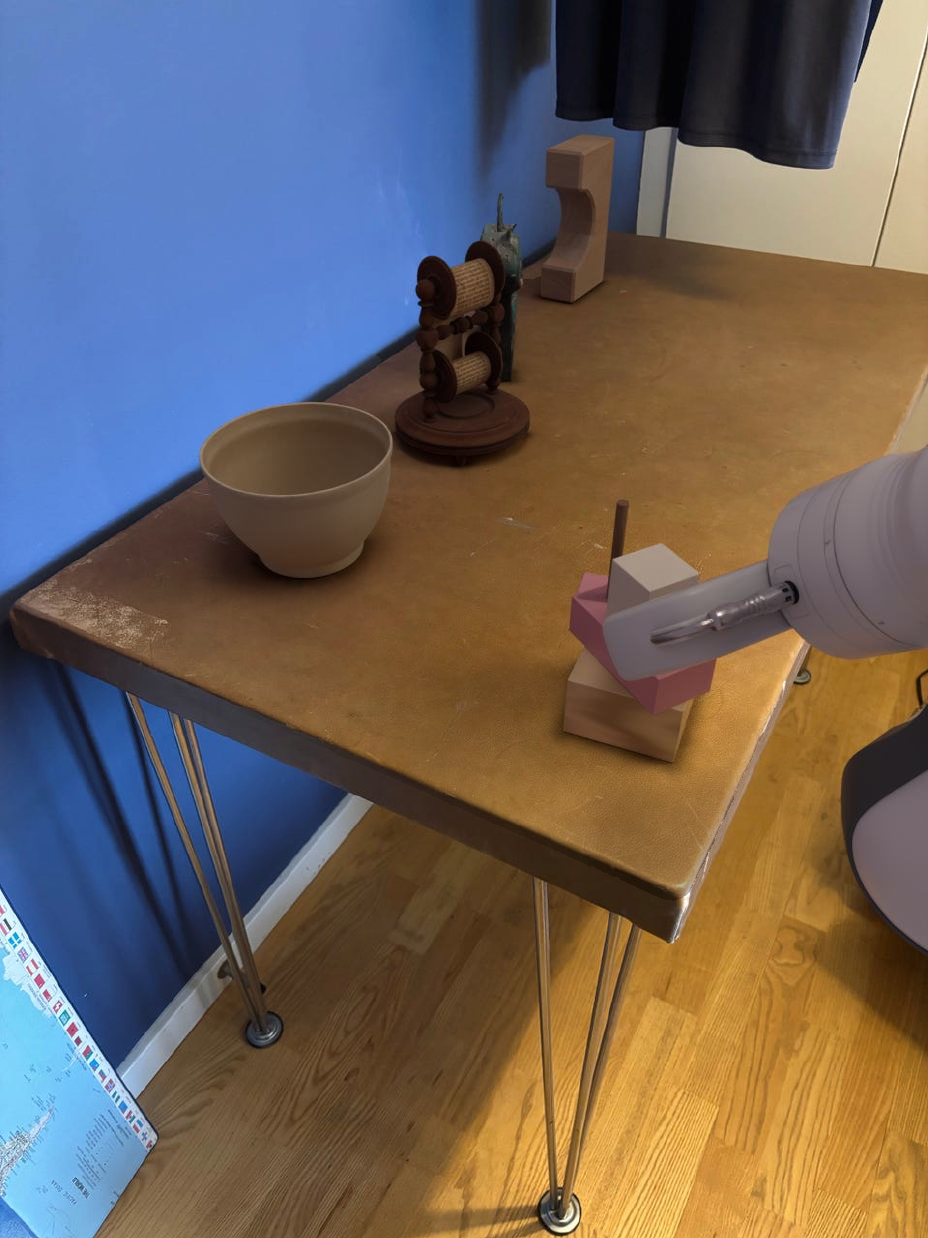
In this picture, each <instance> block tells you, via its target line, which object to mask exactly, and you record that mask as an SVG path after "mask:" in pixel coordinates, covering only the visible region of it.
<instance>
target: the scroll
mask: <svg viewBox="0 0 928 1238" xmlns="http://www.w3.org/2000/svg"><path fill="white" fill-rule="evenodd" d="M479 240H480V239H479ZM479 240H476V241H473V242H474V243H473V242H472V243H471V244H470V245H469V246H468V248H467V250H466V253H465V257H464V263H460V264H456V265H454V266H450V265H449V264H448V263H447V262H446V261H445V260H444V259H443V258H441V257H439V256H438V255H428V256H425V257H424V258H422V260H421V261H420V263H419V265H418V267H417V272H416V285H415V287H414V291H415V295H416V297H417V298H418V299H419V301H417V306H418V307H420V310H419V311H420V312H419V316H418V324H419V326H420V327H419V328H418V329H417V331H416V333H415V342H416V345H417V346H418V347H419V351H420V352H421V357H420V360H419V364H418V365H419V368H418V369H419V378H418V382H419V385H420V387H421V388H422V389H423V390H421V391H419V392H417V393H415V394H413V395H411V396H409V397H408V398H406V399H404V400H403V402H401V403H400V404H399V406H398V407H397V408H396V410H395V413H394V427H395V431H396V433H397V435H398V436H399V438H400V439H402V440H403V441H404V442H405V443H407V444H408V445H410V446H411V447H414V448H416V449H418V450H422V451H425V452H429V453H434V454H439V455H443V456H444V455H445V456H455V457H456V461H457V463H458V465H460V466H464V465H465V463H466V461H467V458H468V456H475V455H484V454H490V453H494V452H497V451H501V450H503V449H507V448H508V447H512V446H513V445H515V444H517V443H518V442H519V441H521V440H522V439H523V438H524V437H525V436H526V435H527V433H528V432H529V429H530V427H531V425H530V424H531V421H530V420H531V414H530V413H531V412H530V410H529V408H528V406H527V404H525V402H524V401H523V400H521V399H520V398H519V397H517V396H515V395H514V394H512V393H509V392H507V391H505V390H503V389H500V388H499V387H500V385H501V383H502V381H501V380H500V376H501V373H502V368H503V361H502V351H501V349H500V348H499V347H498V344H499V342H500V334H499V331H498V326H500V324H501V323H500V322H501V321H502V319H503V317H504V313H505V312H504V308H503V306H502V305H501V304H500V303H498V302H499V301H500V299H501V291H502V289H503V287H504V283H505V267H504V263H503V260H502V258H501V256H500V254H499V252H498V251H497V249H496V248H495V247H494V246H493V245H492V244H490V243H489V242H487V241H482V240H480V241H479ZM481 307H484V309H483V311H478V312H476V313H475V312H474V313H473V314H472V315H471V316H470V315H465V314H467V313H470V312H473V311H474V310H476V309H479V308H481ZM486 322H487V323H486ZM485 323H486V324H487V326H489V330H488V334H487V333H484V332H481V331H479V330H477V331H474V332H471V333H470V334H469V335H468V337H467V338H466V340H465V343H464V348H463V340H464V339H463V338H464V334H466V333H467V332H468V331H471V330H472V329H473V328H474V326H477V327H478V326H481V325H484V324H485ZM463 349H464V355H463Z"/></svg>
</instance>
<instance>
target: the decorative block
mask: <svg viewBox="0 0 928 1238" xmlns="http://www.w3.org/2000/svg"><path fill="white" fill-rule="evenodd" d="M615 144H616V140H615V138H614V137H613V136H604V135H603V136H602V135H595V134H594V135H592V134H586V133H585V134H584V133H580V134H579V135H577V136H574V137H572V138H569V139H567V140H565V141H563V142H560V143H558V144H556V145H553V146H551V147H549V148H548V149H547V150H546V154H545V155H546V156H545V178H544V185H545V187H546V188H548V189H554V190H555V191H556V193H557V195H558V200H559V202H560V221H559V229H558V233H557V236H556V240H555V244H554V246H553V248H552V250H551V252H550V255H549V257H548V259H546V261H545V262H544V263H543V264H542V265H541V268H540V269H541V270H540V291H539V293H540V295H539V296H541V298H542V299H547V300H552V301H558V302H563V303H568V304H573V303H574V302H576V301H577V300H579V299H580V298H581V297H583V296H584V295H585V294H587V293H588V292H589V291H591V290H592V289H594V288H595V287H596V286H598V285H599V284H601V283H602V282H603V281H604V273H605V263H606V261H605V260H606V252H607V251H606V249H607V238H608V228H609V227H608V226H609V214H610V204H611V192H612V182H613V181H612V180H613V170H614V169H613V168H614V155H615Z"/></svg>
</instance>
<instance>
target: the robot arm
mask: <svg viewBox="0 0 928 1238" xmlns="http://www.w3.org/2000/svg"><path fill="white" fill-rule="evenodd" d="M791 630H794V631H795V633H796V634H798V635H799V636H800V638H801V639H802V640H804V641H805V642H806V643H807V644H808V645H810V646H811V647H813V648H814V649H815V650H818V651H819V652H821V653H824V654H825V655H828V656H831V657H834V658H836V659H842V660H850V661H857V660H866V659H872V658H876V657H877V658H878V657H884V656H889V655H890V656H891V655H895V654H902V653H907V652H913V651H919V650H927V649H928V443H927V444H926V445H925V446H924V447H921V448H920V449H919V450H910V451H909V450H908V451H900V452H898V451H897V452H894V453H893V452H892V453H889V454H886V455H883V456H880V457H878V458H875V459H872V460H870V461H868V462H866V463H864V464H861V465H860V466H857V467H855V468H853V469H851V470H847V471H846V472H843V473H841V474H839V475H836V476H834V477H832V478H829V479H827V480H825V481H823V482H820V483H818V484H816V485H813V486H812V487H809V488H806V489H805V490H802V491H800V492H799V493H798V494H797V495H795V496H794V497H792V499H790V500H789V501H788V502H787V504H785V506H784V507H783V508H782V510H781V511H780V512H779V514H778V516H777V518H776V520H775V521H774V524H773V526H772V529H771V533H770V537H769V541H768V550H767V558H764V559H762V560H759V561H756V562H753V563H751V564H748V565H745V566H742V567H740V568H737V569H736V568H735V569H734V570H731V571H728V572H725V573H723V574H720V575H716V576H714V577H712V578H709V579H706V580H703V581H701V582H698V583H697V584H695V585H692V586H689V587H686V588H683V589H681V590H678V591H675V592H672V593H670V594H667V595H664V596H661V597H658V598H656V599H653V600H650V601H647V602H644V603H642V604H639V605H636V606H633V607H630V608H628V609H625V610H622V611H619V612H617V613H614V614H612V615H610V616H608V617H607V618H606V619H605V620H604V621H603V624H602V631H603V636H604V640H605V643H606V646H607V649H608V652H609V655H610V657H611V660H612V662H613V664H614V667H615V669H616V671H617V672H618V674H619V676H620V677H621V678H622V679H624V680H626V681H633V680H639V679H643V678H647V677H652V676H656V675H660V674H664V673H668V672H672V671H676V670H680V669H684V668H687V667H691V666H695V665H699V664H702V663H705V662H708V661H711V660H714V659H717V660H718V659H719V658H723V657H725V656H728V655H731V654H733V653H735V652H737V651H740V650H744V649H746V648H748V647H750V646H753V645H756V644H758V643H760V642H764V641H766V640H769V639H771V638H773V637H776V636H778V635H781V634H783V633H786V632H789V631H791ZM840 780H841V782H840V820H841V821H840V822H841V829H842V835H843V836H842V837H843V841H844V846H845V852H846V855H847V859H848V862H849V866H850V869H851V872H852V875H853V876H854V879H855V881H856V883H857V885H858V887H859V889H860V890H861V892H862V894H863V895H864V897H865V899H866V900H867V901H868V903H869V904H870V906H871V907H872V909H873V910H874V911H875V912H876V914H877V915H878V916H879V917H880V918H881V920H883V921H884V923H886V925H887V926H888V927H890V929H891V930H892V931H893V932H894V933H895V934H897V935H898V936H899V937H900V938H901V939H902V940H904V941H905V942H906V943H907V944H909V946H911V947H913V948H914V949H915V950H916V951H918V952H919V953H922V954H923V955H924V956H926V957H928V702H927V703H926V704H925V706H923V707H922V708H921V709H919V710H918V711H917V712H915V713H914V714H913V715H912V716H910V717H909V718H908V719H907V720H906V721H904V722H902V723H900V724H897V725H895V726H893V727H891V728H889V729H888V730H886V731H884V733H882V734H881V735H879V736H878V737H876V738H875V739H874V740H872V741H871V742H869V743H868V744H866V745H865V746H863V747H862V748H861V749H859V750H858V751H857V752H855V753H854V754H853V755H852V756H851V757H850V758H849V759H848V761H847V762H846V764H845V766H844V768H843V770H842V773H841V779H840Z"/></svg>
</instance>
